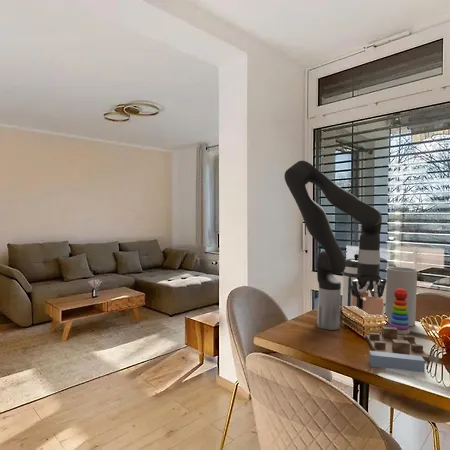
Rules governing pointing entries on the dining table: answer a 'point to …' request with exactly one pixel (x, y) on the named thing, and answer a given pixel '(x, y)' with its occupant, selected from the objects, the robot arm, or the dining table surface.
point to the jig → (395, 343)
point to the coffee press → (348, 275)
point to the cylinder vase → (404, 280)
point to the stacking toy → (400, 312)
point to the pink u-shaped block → (370, 304)
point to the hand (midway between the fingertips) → (366, 307)
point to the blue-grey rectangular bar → (397, 361)
